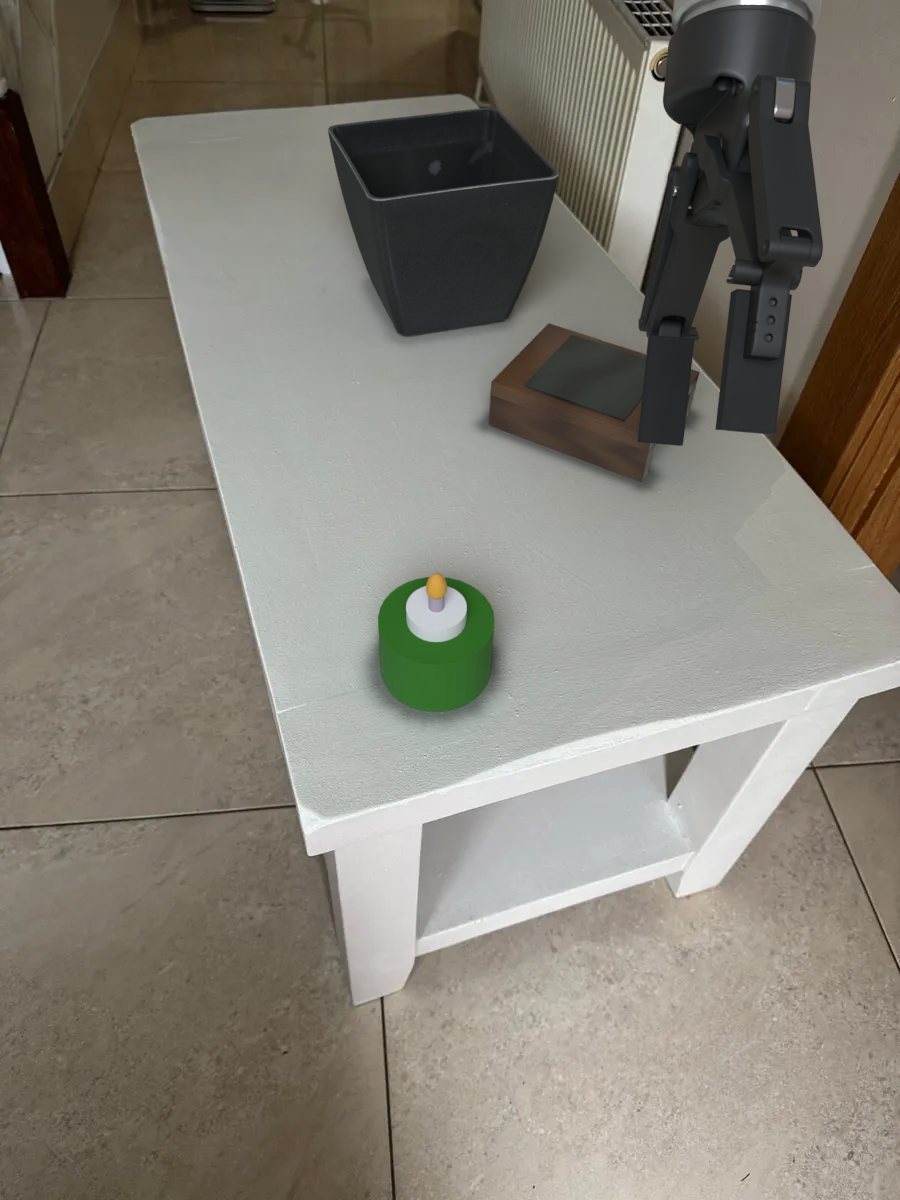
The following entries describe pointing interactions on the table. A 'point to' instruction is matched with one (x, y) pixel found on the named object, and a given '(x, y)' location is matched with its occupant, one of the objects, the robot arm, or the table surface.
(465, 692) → the candle
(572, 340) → the small stand
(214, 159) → the table surface
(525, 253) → the flower pot
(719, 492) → the table surface
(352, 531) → the table surface
